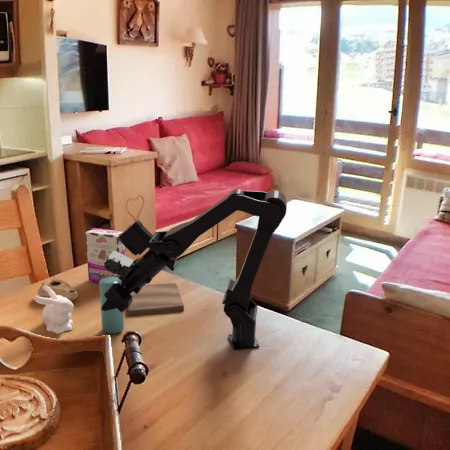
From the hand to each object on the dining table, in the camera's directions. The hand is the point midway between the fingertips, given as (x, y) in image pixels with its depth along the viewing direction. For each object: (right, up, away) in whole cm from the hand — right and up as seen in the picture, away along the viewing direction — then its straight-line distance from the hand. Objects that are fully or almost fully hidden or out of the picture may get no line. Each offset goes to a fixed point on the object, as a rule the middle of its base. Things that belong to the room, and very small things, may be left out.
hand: (106, 304), depth 130 cm
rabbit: (-13, -7, +3) cm, 15 cm away
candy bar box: (-6, +2, +30) cm, 30 cm away
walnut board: (+9, -2, +18) cm, 21 cm away
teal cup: (+1, -6, +2) cm, 7 cm away
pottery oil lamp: (-17, -2, +17) cm, 25 cm away
